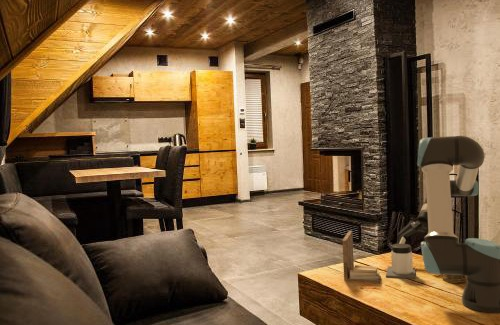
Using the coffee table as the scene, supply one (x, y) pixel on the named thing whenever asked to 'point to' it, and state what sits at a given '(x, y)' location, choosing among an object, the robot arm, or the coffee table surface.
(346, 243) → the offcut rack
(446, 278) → the wooden mug
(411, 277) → the rubber mat
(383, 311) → the coffee table surface
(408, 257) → the jar
